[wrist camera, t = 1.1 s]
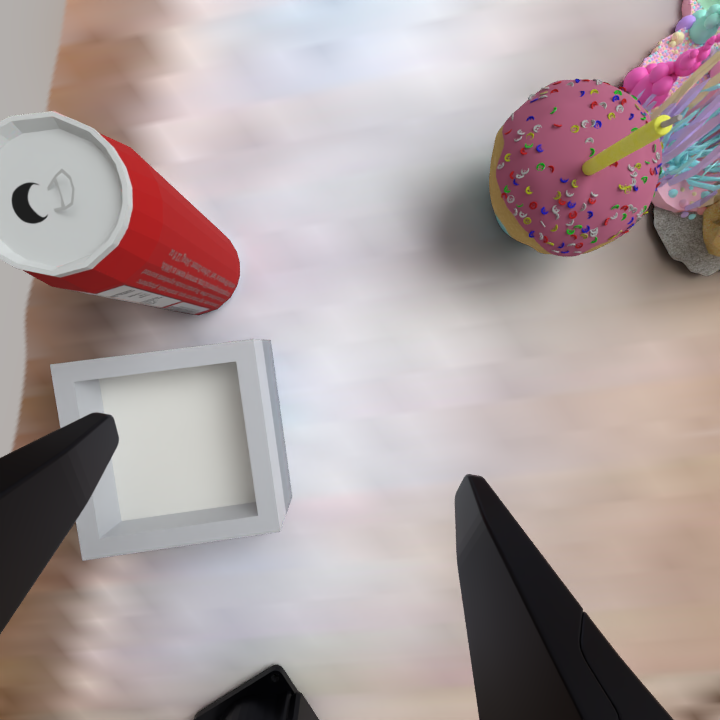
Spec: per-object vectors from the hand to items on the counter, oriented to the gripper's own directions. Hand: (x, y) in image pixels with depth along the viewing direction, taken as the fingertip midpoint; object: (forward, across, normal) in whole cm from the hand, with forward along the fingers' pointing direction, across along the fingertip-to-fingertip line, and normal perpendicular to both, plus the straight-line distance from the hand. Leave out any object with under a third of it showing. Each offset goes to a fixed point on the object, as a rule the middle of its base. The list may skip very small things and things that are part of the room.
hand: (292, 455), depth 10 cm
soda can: (+15, +9, +3) cm, 18 cm away
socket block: (+10, +7, +11) cm, 16 cm away
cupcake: (+20, -11, -4) cm, 23 cm away
